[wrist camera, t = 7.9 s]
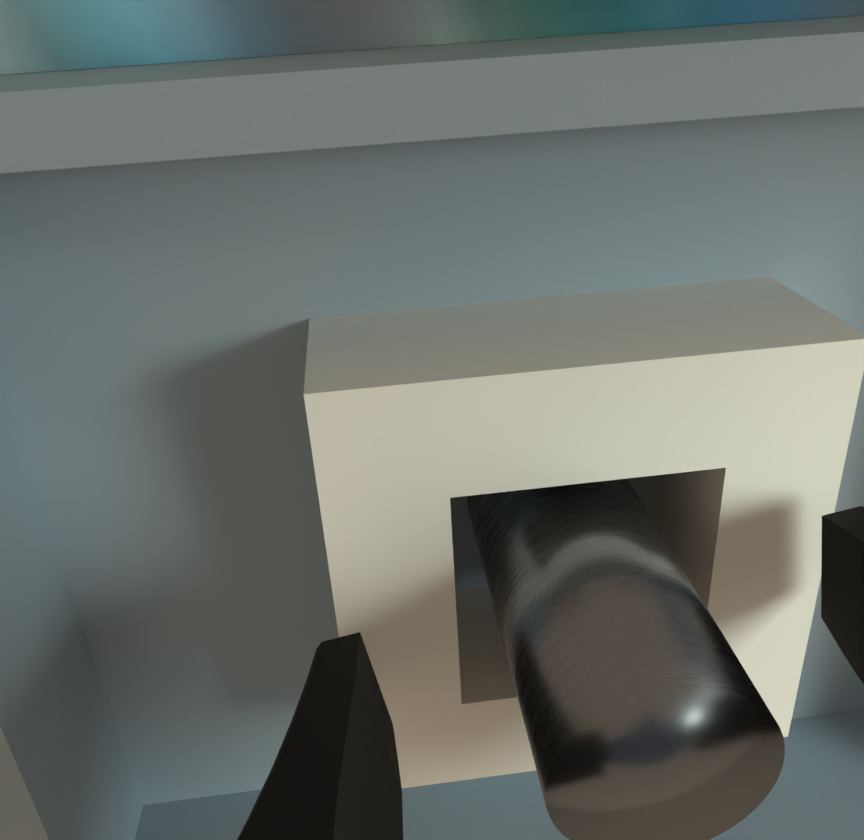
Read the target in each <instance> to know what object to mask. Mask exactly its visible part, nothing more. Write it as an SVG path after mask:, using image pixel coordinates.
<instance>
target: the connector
mask: <svg viewBox="0 0 864 840" xmlns="http://www.w3.org/2000/svg"><path fill="white" fill-rule="evenodd" d="M467 506H468V511H469V515H470V519H471V522H472V526H473V530H474V534H475V538H476V541H477V545H478V549H479V553H480V557H481V560H482V564H483V568H484V572H485V576H486V580H487V583H488V587H489V591H490V595H491V599H492V602H493V606H494V610H495V614H496V618H497V621H498V625H499V629H500V633H501V637H502V640H503V644H504V648H505V652H506V656H507V659H508V663H509V667H510V671H511V675H512V678H513V682H514V686H515V690H516V694H517V698H518V701H519V705H520V709H521V713H522V717H523V720H524V724H525V728H526V732H527V736H528V739H529V743H530V747H531V751H532V755H533V758H534V762H535V766H536V770H537V774H538V777H539V781H540V785H541V789H542V793H543V796H544V800H545V804H546V808H547V811H548V814H549V816H550V819H551V820H552V822H553V824H554V825H555V827H556V828H557V829H558V830H559V831H560V832H561V833H562V834H563V835H564V836H565V837H566V838H568V839H569V840H710V839H712V838H714V837H716V836H718V835H720V834H722V833H723V832H725V831H727V830H729V829H730V828H732V827H733V826H735V825H736V824H738V823H739V822H740V821H742V820H743V819H745V818H746V817H747V816H748V815H749V814H750V813H752V812H753V811H754V810H755V809H756V808H757V807H758V806H759V805H760V804H761V803H762V802H763V801H764V799H765V798H766V797H767V795H768V794H769V793H770V791H771V790H772V788H773V787H774V785H775V783H776V782H777V780H778V778H779V775H780V773H781V770H782V767H783V762H784V758H785V744H784V738H783V735H782V732H781V729H780V727H779V725H778V723H777V722H776V720H775V719H774V717H773V715H772V714H771V712H770V710H769V709H768V707H767V706H766V704H765V702H764V701H763V699H762V697H761V696H760V694H759V692H758V691H757V689H756V688H755V686H754V684H753V683H752V681H751V679H750V678H749V676H748V674H747V673H746V671H745V670H744V668H743V666H742V665H741V663H740V661H739V660H738V658H737V656H736V655H735V653H734V652H733V650H732V648H731V647H730V645H729V643H728V642H727V640H726V638H725V637H724V635H723V634H722V632H721V630H720V629H719V627H718V625H717V624H716V622H715V620H714V619H713V617H712V616H711V614H710V612H709V611H708V609H707V607H706V606H705V604H704V603H703V601H702V599H701V598H700V596H699V594H698V593H697V591H696V589H695V588H694V586H693V585H692V583H691V581H690V580H689V578H688V576H687V575H686V573H685V571H684V570H683V568H682V567H681V565H680V563H679V562H678V560H677V558H676V557H675V555H674V553H673V552H672V550H671V549H670V547H669V545H668V544H667V542H666V540H665V539H664V537H663V535H662V534H661V532H660V531H659V529H658V527H657V526H656V524H655V522H654V521H653V519H652V517H651V516H650V514H649V513H648V511H647V509H646V508H645V506H644V504H643V503H642V501H641V500H640V498H639V496H638V495H637V493H636V491H635V490H634V488H633V486H632V485H631V483H630V482H629V480H628V478H627V479H618V480H609V481H600V482H590V483H581V484H572V485H563V486H554V487H545V488H535V489H526V490H517V491H508V492H499V493H490V494H480V495H471V496H467Z"/></svg>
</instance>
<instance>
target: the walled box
mask: <svg viewBox="0 0 864 840" xmlns="http://www.w3.org/2000/svg"><path fill="white" fill-rule="evenodd" d="M627 478H628V480H629V482H630V483H631V485H632V486H633V488H634V490H635V491H636V493H637V495H638V496H639V498H640V500H641V501H642V503H643V504H644V506H645V508H646V509H647V511H648V513H649V514H650V516H651V517H652V519H653V521H654V522H655V524H656V526H657V527H658V529H659V531H660V532H661V534H662V535H663V537H664V539H665V540H666V542H667V544H668V545H669V547H670V549H671V550H672V552H673V553H674V555H675V557H676V558H677V560H678V562H679V563H680V565H681V567H682V568H683V570H684V571H685V573H686V575H687V576H688V578H689V580H690V581H691V583H692V585H693V586H694V588H695V589H696V591H697V593H698V594H699V596H700V598H701V599H702V601H703V603H704V604H705V606H706V607H707V609H708V611H709V612H710V614H711V616H712V617H713V619H714V620H715V622H716V624H717V625H718V627H719V629H720V630H721V632H722V634H723V635H724V637H725V638H726V640H727V642H728V643H729V645H730V647H731V648H732V650H733V652H734V653H735V655H736V656H737V658H738V660H739V661H740V663H741V665H742V666H743V668H744V670H745V671H746V673H747V674H748V676H749V678H750V679H751V681H752V683H753V684H754V686H755V688H756V689H757V691H758V692H759V694H760V696H761V697H762V699H763V701H764V702H765V704H766V706H767V707H768V709H769V710H770V712H771V714H772V715H773V717H774V719H775V720H776V722H777V723H778V725H779V727H780V729H781V732H782V735H783V738H784V744H785V758H784V762H783V767H782V770H781V773H780V775H779V778H778V780H777V782H776V783H775V785H774V787H773V788H772V790H771V791H770V793H769V794H768V795H767V797H766V798H765V799H764V801H763V802H762V803H761V804H760V805H759V806H758V807H757V808H756V809H755V810H754V811H753V812H752V813H750V814H749V815H748V816H747V817H746V818H745V819H743V820H742V821H740V822H739V823H738V824H736V825H735V826H733V827H732V828H730V829H729V830H727V831H725V832H723V833H722V834H720V835H718V836H716V837H714V838H712V839H710V840H864V684H863V682H862V681H861V680H860V678H859V677H858V676H857V674H856V673H855V671H854V670H853V668H852V667H851V665H850V663H849V662H848V660H847V659H846V657H845V656H844V654H843V653H842V651H841V649H840V648H839V646H838V644H837V643H836V641H835V639H834V638H833V636H832V634H831V633H830V631H829V629H828V628H827V626H826V624H825V623H824V621H823V619H822V618H821V564H822V516H823V515H827V514H831V513H835V512H839V511H843V510H847V509H851V508H855V507H859V506H863V507H864V15H861V16H847V17H832V18H818V19H803V20H789V21H774V22H760V23H745V24H731V25H716V26H702V27H687V28H673V29H658V30H644V31H629V32H615V33H600V34H586V35H571V36H556V37H542V38H527V39H513V40H498V41H484V42H469V43H455V44H440V45H426V46H411V47H397V48H382V49H368V50H353V51H339V52H324V53H310V54H295V55H281V56H266V57H252V58H237V59H223V60H208V61H194V62H179V63H165V64H150V65H136V66H121V67H107V68H92V69H78V70H63V71H49V72H34V73H19V74H5V75H0V840H237V839H238V837H239V835H240V833H241V831H242V829H243V827H244V825H245V823H246V821H247V819H248V817H249V815H250V813H251V811H252V809H253V807H254V805H255V803H256V800H257V798H258V796H259V794H260V792H261V790H262V788H263V786H264V784H265V782H266V779H267V777H268V775H269V773H270V771H271V769H272V766H273V764H274V762H275V759H276V757H277V754H278V752H279V750H280V747H281V745H282V742H283V740H284V738H285V735H286V733H287V730H288V728H289V725H290V723H291V721H292V718H293V715H294V713H295V710H296V707H297V705H298V702H299V699H300V697H301V694H302V691H303V688H304V685H305V682H306V680H307V677H308V674H309V671H310V668H311V664H312V661H313V658H314V655H315V652H316V649H317V647H318V646H319V645H320V643H321V642H323V641H327V640H331V639H335V638H339V637H343V636H346V635H350V634H354V633H358V632H360V633H361V636H362V639H363V642H364V645H365V647H366V650H367V653H368V656H369V659H370V661H371V664H372V667H373V670H374V673H375V675H376V678H377V681H378V684H379V687H380V689H381V692H382V695H383V698H384V701H385V703H386V706H387V709H388V712H389V715H390V718H391V720H392V723H393V728H394V735H395V742H396V749H397V757H398V764H399V772H400V779H401V787H402V810H403V840H569V839H568V838H566V837H565V836H564V835H563V834H562V833H561V832H560V831H559V830H558V829H557V828H556V827H555V825H554V824H553V822H552V820H551V819H550V816H549V814H548V811H547V808H546V804H545V800H544V796H543V793H542V789H541V785H540V781H539V777H538V774H537V770H536V766H535V762H534V758H533V755H532V751H531V747H530V743H529V739H528V736H527V732H526V728H525V724H524V720H523V717H522V713H521V709H520V705H519V701H518V698H517V694H516V690H515V686H514V682H513V678H512V675H511V671H510V667H509V663H508V659H507V656H506V652H505V648H504V644H503V640H502V637H501V633H500V629H499V625H498V621H497V618H496V614H495V610H494V606H493V602H492V599H491V595H490V591H489V587H488V583H487V580H486V576H485V572H484V568H483V564H482V560H481V557H480V553H479V549H478V545H477V541H476V538H475V534H474V530H473V526H472V522H471V519H470V515H469V511H468V506H467V496H471V495H480V494H490V493H499V492H508V491H517V490H526V489H535V488H545V487H554V486H563V485H572V484H581V483H590V482H600V481H609V480H618V479H627Z"/></svg>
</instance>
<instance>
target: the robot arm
mask: <svg viewBox="0 0 864 840" xmlns="http://www.w3.org/2000/svg"><path fill="white" fill-rule="evenodd" d="M821 618H822V619H823V621H824V623H825V624H826V626H827V628H828V629H829V631H830V633H831V634H832V636H833V638H834V639H835V641H836V643H837V644H838V646H839V648H840V649H841V651H842V653H843V654H844V656H845V657H846V659H847V660H848V662H849V663H850V665H851V667H852V668H853V670H854V671H855V673H856V674H857V676H858V677H859V678H860V680H861V681H862V682H863V684H864V507H863V506H859V507H855V508H851V509H847V510H843V511H839V512H835V513H831V514H827V515H823V516H822V564H821ZM237 840H403V810H402V787H401V779H400V772H399V764H398V757H397V749H396V742H395V735H394V728H393V723H392V720H391V718H390V715H389V712H388V709H387V706H386V703H385V701H384V698H383V695H382V692H381V689H380V687H379V684H378V681H377V678H376V675H375V673H374V670H373V667H372V664H371V661H370V659H369V656H368V653H367V650H366V647H365V645H364V642H363V639H362V636H361V633H360V632H358V633H354V634H350V635H346V636H343V637H339V638H335V639H331V640H327V641H323V642H321V643H320V645H319V646H318V647H317V649H316V652H315V655H314V658H313V661H312V664H311V668H310V671H309V674H308V677H307V680H306V682H305V685H304V688H303V691H302V694H301V697H300V699H299V702H298V705H297V707H296V710H295V713H294V715H293V718H292V721H291V723H290V725H289V728H288V730H287V733H286V735H285V738H284V740H283V742H282V745H281V747H280V750H279V752H278V754H277V757H276V759H275V762H274V764H273V766H272V769H271V771H270V773H269V775H268V777H267V779H266V782H265V784H264V786H263V788H262V790H261V792H260V794H259V796H258V798H257V800H256V803H255V805H254V807H253V809H252V811H251V813H250V815H249V817H248V819H247V821H246V823H245V825H244V827H243V829H242V831H241V833H240V835H239V837H238V839H237Z"/></svg>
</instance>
